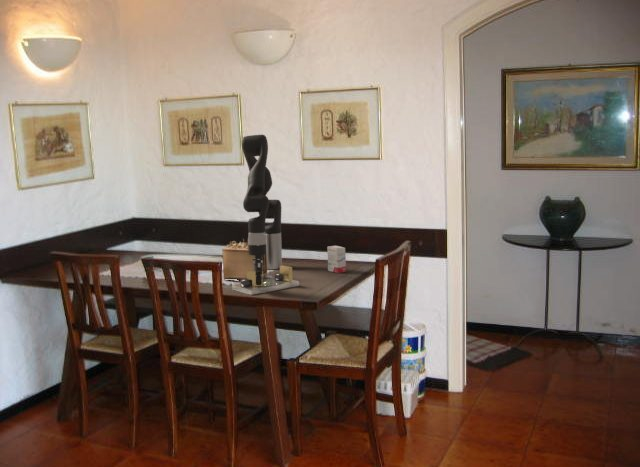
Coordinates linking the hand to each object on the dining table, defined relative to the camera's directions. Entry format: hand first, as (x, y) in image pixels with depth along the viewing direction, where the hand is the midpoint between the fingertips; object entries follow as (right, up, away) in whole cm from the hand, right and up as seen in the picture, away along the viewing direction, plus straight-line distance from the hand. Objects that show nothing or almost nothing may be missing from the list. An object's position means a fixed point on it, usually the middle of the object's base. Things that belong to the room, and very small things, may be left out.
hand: (258, 284), depth 307 cm
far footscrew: (+10, +1, +11) cm, 15 cm away
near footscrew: (-3, -1, 0) cm, 3 cm away
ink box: (+34, +3, +39) cm, 51 cm away
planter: (-8, 0, +25) cm, 26 cm away
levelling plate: (+3, -2, +6) cm, 7 cm away
